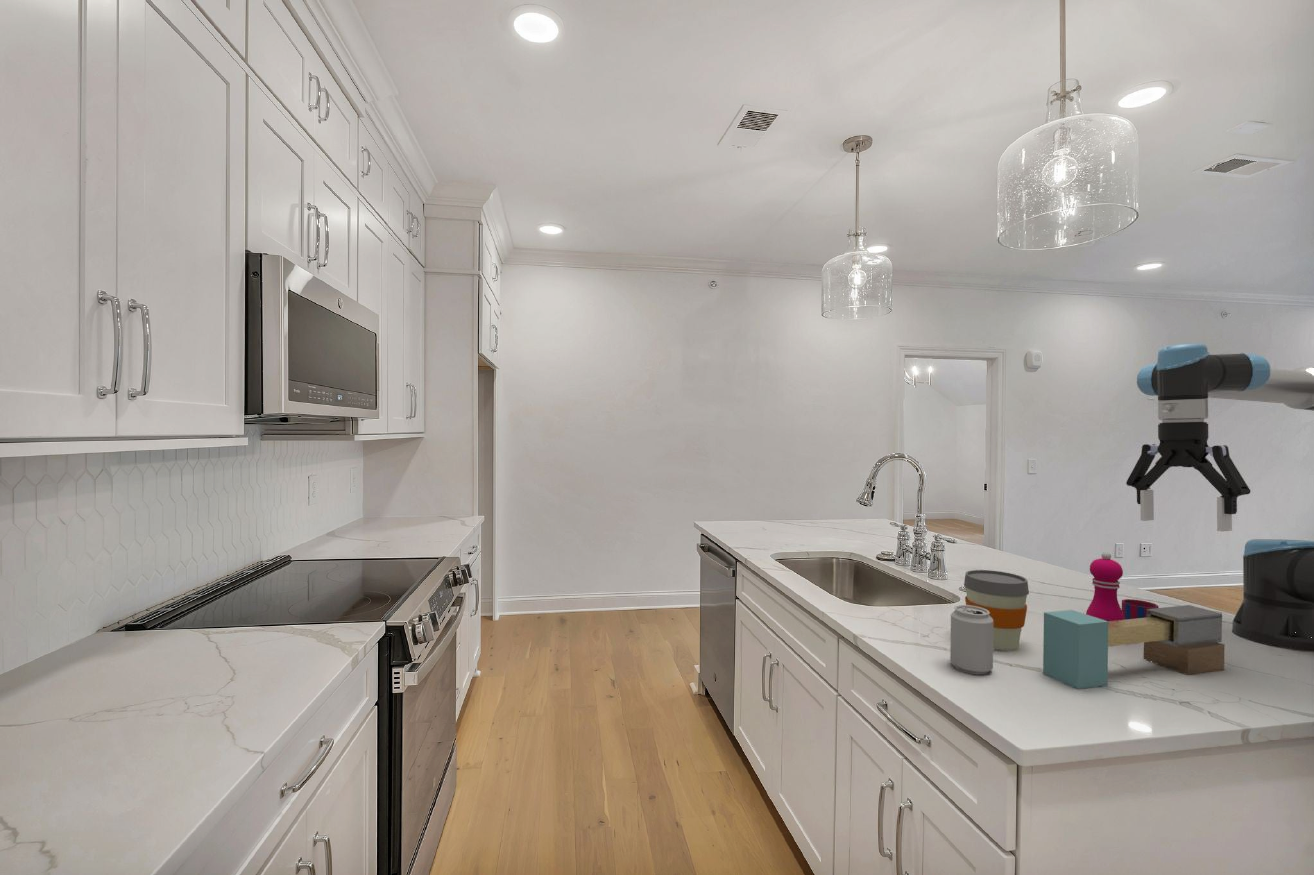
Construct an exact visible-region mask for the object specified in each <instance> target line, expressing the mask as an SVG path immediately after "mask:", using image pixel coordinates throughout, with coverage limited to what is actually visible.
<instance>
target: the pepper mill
mask: <svg viewBox="0 0 1314 875" xmlns="http://www.w3.org/2000/svg"><path fill="white" fill-rule="evenodd" d="M1100 555H1101V558H1096V559H1094V560H1092V561H1091V563H1090V565H1089V572H1090V574H1091V575H1092V576H1093V577H1092V579H1091V580H1092V583H1091V584H1092V585H1093V588H1094V592H1093V597H1092V600H1091V602H1090V604H1089V605H1088V607H1087V609H1086V612H1085V614H1086V615H1090V616H1093V617H1096V618H1099V619H1102V620H1105V621H1118V620H1125V617H1124V614H1123V612H1122V607H1121V605H1120V603H1119V601H1118V589H1120V588H1121V586H1120V584H1121V582H1120V581H1119V580H1121V578H1122V577H1123V575H1124V570H1123V567H1122V565H1121V564H1120V563H1119V562H1117V561H1116V560H1114V559H1111V558H1112V554H1111V553H1110V552H1107V551H1105V552H1102V553H1101V554H1100Z"/></svg>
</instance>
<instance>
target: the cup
mask: <svg viewBox="0 0 1314 875" xmlns="http://www.w3.org/2000/svg"><path fill="white" fill-rule="evenodd" d="M1154 608H1160V607H1159V605H1158V604H1156V603H1155V602H1154V603H1153V602H1150V601H1146V600H1141V599H1134V598H1133V599H1132V598H1131V599H1129V598H1125V599H1122V600H1121V610H1122V612H1123V614H1124V617H1125V620H1127V619H1137V618H1146V615H1147V609H1154Z"/></svg>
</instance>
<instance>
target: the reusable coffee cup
mask: <svg viewBox="0 0 1314 875" xmlns="http://www.w3.org/2000/svg"><path fill="white" fill-rule="evenodd" d="M1028 582H1029V581H1028V579H1027V578H1026V577H1024V576H1021V575H1020V574H1019V575H1018V574H1016V573H1011V572H1005V571H999V570H990V569H974V570H973V569H972V570H968V571H965V576H964V583H963V586H964V587H965V591H966V596H965V597H964V600H965V602H964V603H965V605H970V606H977V607H981V608H984V609H986V610H988V611H989V612H990V614H989V615H990V617H991V618H992V619H993V650H996V649H997V650H996V651H1005V650H1009V651H1015V650H1018V648H1019V646H1020V640H1021V633H1022V629H1023V628H1024V627H1025V624H1026V623H1025V622H1026V616H1027V611H1028V605H1027V603H1026V602H1027V596H1028V595H1029V594H1030V592H1029V583H1028Z"/></svg>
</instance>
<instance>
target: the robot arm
mask: <svg viewBox="0 0 1314 875" xmlns="http://www.w3.org/2000/svg"><path fill="white" fill-rule="evenodd" d="M1136 385H1137V388H1138V389H1139V391H1140V392H1141V393H1143V394H1144V395H1147V396H1150V397H1151V396H1152V397H1153V396H1155V397H1156V396H1157V400H1158V401H1157V419H1158V420H1159V421H1161V422H1160V423H1159V424H1157V437H1158V438H1157V439H1158V441H1159V444H1158V445H1156V444H1155V443H1149V444H1147V443H1145V444H1143V445H1142V446H1141V453H1140V456H1139V458H1138V460H1137V461H1136V463H1135V466H1134V467H1133V469H1132V471H1131V473H1130V474H1129V476H1128V478H1127V479H1126V482H1125V483H1126V485H1127V486H1128V487H1133V488H1134V489H1135V490H1136V503H1137V504H1138V505H1140V521H1144V522H1146V521H1147V522H1148V521H1154V520H1155V517H1154V516H1155V515H1154V514H1155V512H1154V511H1155V510H1154V505H1155V504H1154V502H1155V501H1154V500H1155V499H1154V498H1155V497H1154V489H1152V488H1151V486H1153V484H1154V483H1155V482H1156V481H1157V480H1159V479H1160V477H1161V476H1163V475H1164V473H1165V472H1167V470H1169V469H1170V468H1172V467H1178V468H1179V467H1183V468H1193V469H1194V470H1197V471H1198V472H1199V473H1200V474H1201V475H1202V476H1203V477H1204V478H1205V479H1206V480H1207V481H1208V483H1209V484H1211V485H1212V487H1214V488H1215V490H1216V491H1217V492H1219V494H1220V496H1217V497H1216V524H1217V525H1216V526H1217V527H1216V528H1217V529H1216V531H1217V532H1230V531H1233V516H1232V515H1236V514H1237V512H1238V498H1239V497H1240V496H1245V495H1249V494H1251V489H1250V487H1249V486H1248V485H1247V483H1246V481H1245V479H1244V478H1243V476H1242V474H1241V473H1240V471H1239V469H1238V468H1237V466H1236V464H1235V463H1234V462H1233V459H1232V458H1231V457H1230V451H1229V447H1228V446H1227V445H1225V444H1224V445H1220V444H1219V445H1213V446H1209V444H1208V439H1209V423H1208V422H1207V421H1205V420H1207V419H1208V418H1209V398H1210V399H1221V400H1222V399H1223V400H1234V401H1235V400H1236V401H1237V400H1238V401H1246V402H1247V401H1248V402H1258V403H1259V402H1260V403H1261V402H1262V403H1275V404H1283V405H1285V406H1286V407H1288V408H1290V409H1293V410H1295V409H1296V410H1305V411H1314V367H1310V366H1305V367H1304V366H1303V367H1298V368H1295V369H1293V370H1287V369H1278V368H1277V369H1276V368H1271V365H1270V363H1269V361H1268V360H1267V359H1266V358H1265V357H1264V356H1262V355H1259V354H1256V353H1245V352H1241V353H1226V354H1225V353H1223V354H1221V353H1220V354H1210V352H1208V346H1207V344H1204V343H1186V344H1185V343H1184V344H1182V343H1181V344H1176V345H1175V344H1173V345H1167V346H1165V347H1161V348H1160V349H1159V351H1158V353H1157V362H1156V363H1151V364H1148V365H1145V366H1143V367H1142V368H1141V369H1140V370H1139V371H1138V373H1137V374H1136ZM1157 454H1159V455H1160V458H1159V459H1158V460H1157V461H1155V463H1154V465H1153V467H1151V469H1150V470H1149V468H1150V466H1151V465H1152V463H1153V461H1154V459H1155V457H1156V455H1157ZM1208 455H1210V456H1211V457H1212V458H1213V460H1214V462H1215V464H1216V466H1217V467H1218V469H1219V471H1220V472H1221V473H1220V472H1219V471H1217V469H1216V468H1215V467H1214V466H1213V464H1212V462H1210V460H1209V459H1208V458H1207V456H1208ZM1148 470H1149V471H1148ZM1242 559H1243V560H1242V561H1243V563H1242V564H1243V566H1242V567H1243V569H1242V571H1243V572H1242V574H1243V576H1242V578H1243V579H1242V580H1243V582H1242V583H1243V588H1242V589H1243V594H1242V596H1243V599H1242V602H1241V603H1240V606H1239V608H1238V610H1237V612H1236V614H1235V616H1234V618H1233V619H1232V623H1231V624H1232V626H1231V631H1232V632H1233V633H1234V634H1235V635H1237V636H1239V637H1242V638H1245V639H1246V640H1247V639H1248V640H1250V641H1254V642H1256V643H1257V642H1258V643H1262V644H1265V645H1269V646H1274V647H1279V648H1284V649H1290V650H1297V651H1307V652H1309V651H1310V652H1314V540H1304V539H1303V540H1302V539H1283V538H1282V539H1277V538H1276V539H1273V538H1272V539H1271V538H1259V539H1258V538H1256V539H1254V538H1253V539H1250V540H1248V541H1246V542H1245V544H1244V551H1243V555H1242ZM1295 632H1296V633H1295ZM1311 637H1312V638H1311Z"/></svg>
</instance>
